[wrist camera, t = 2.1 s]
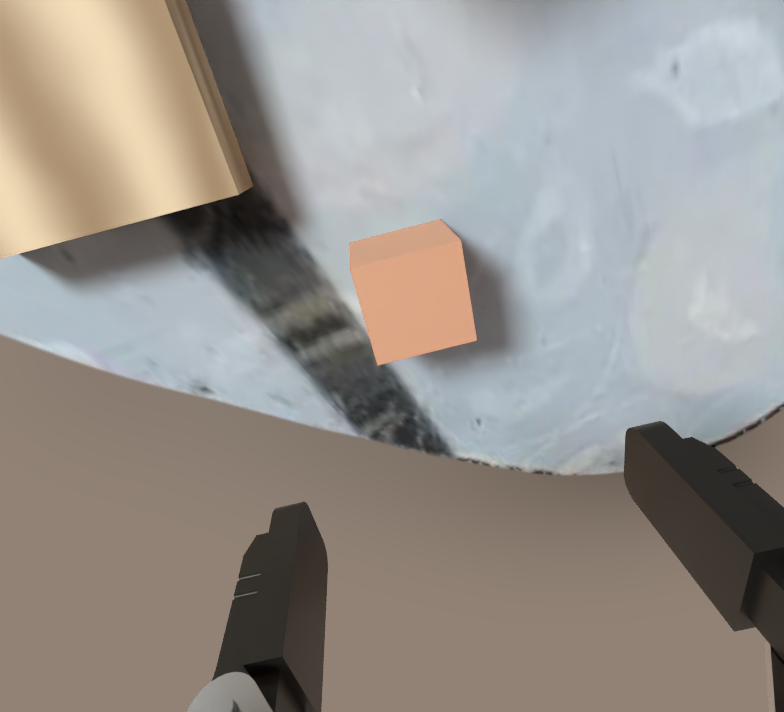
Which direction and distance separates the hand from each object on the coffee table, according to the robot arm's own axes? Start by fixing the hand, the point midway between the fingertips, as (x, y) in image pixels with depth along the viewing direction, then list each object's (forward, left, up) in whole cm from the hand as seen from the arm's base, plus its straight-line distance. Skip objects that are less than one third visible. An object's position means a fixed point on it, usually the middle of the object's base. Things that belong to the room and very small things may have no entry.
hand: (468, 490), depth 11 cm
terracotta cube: (0, 0, -18) cm, 18 cm away
